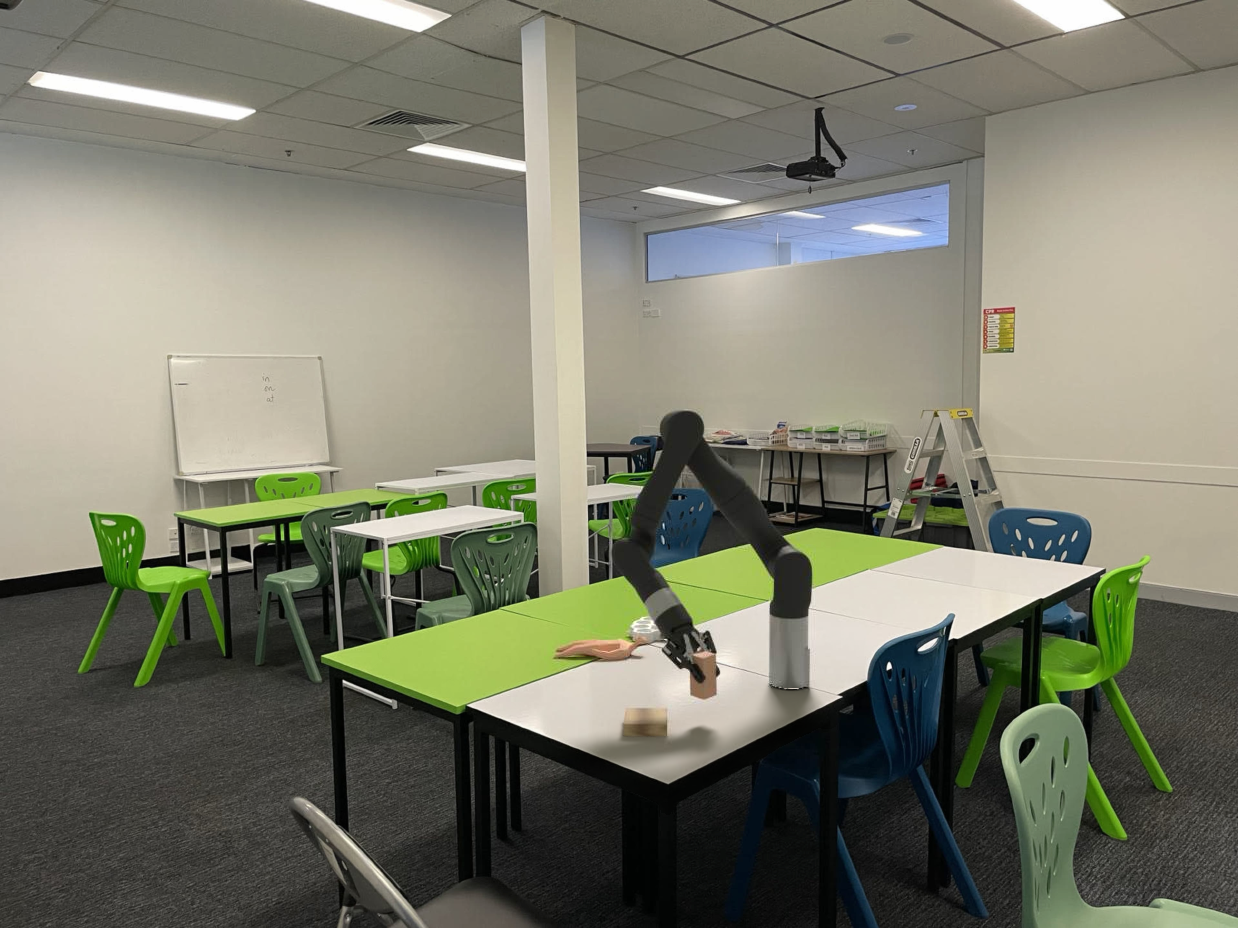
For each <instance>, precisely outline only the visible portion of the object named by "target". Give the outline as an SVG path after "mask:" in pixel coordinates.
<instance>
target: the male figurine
mask: <svg viewBox="0 0 1238 928" xmlns="http://www.w3.org/2000/svg"><path fill="white" fill-rule="evenodd" d="M634 640H635V642H633V641H632V642H629V641H627V640H625V639H623V638H615V639H602V640H601V639H599V638H589V639H584V640H582V639H581V640H579V639H578V640H574V641H572V642H570V643H568V644H567V643H566V644H565V645H563V646H559V647H556V652H558V653H554V654H553V655H554V659H559V657H560V658H563V657H564V658H565V657H571V656H576V655H587V656H590V657H598V658H601V659H603V660H608V661H609V660H610V661H614V660H615V661H616V660H617V661H618V660H624V659H626V658H628V657H629V656H630V655H632V653H633V652H634V651H635V650H637V649H638V645H645V644H647V643H646V640H647V639H646V638H643V637H640V636H639V638H638V637H637V638H634Z"/></svg>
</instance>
